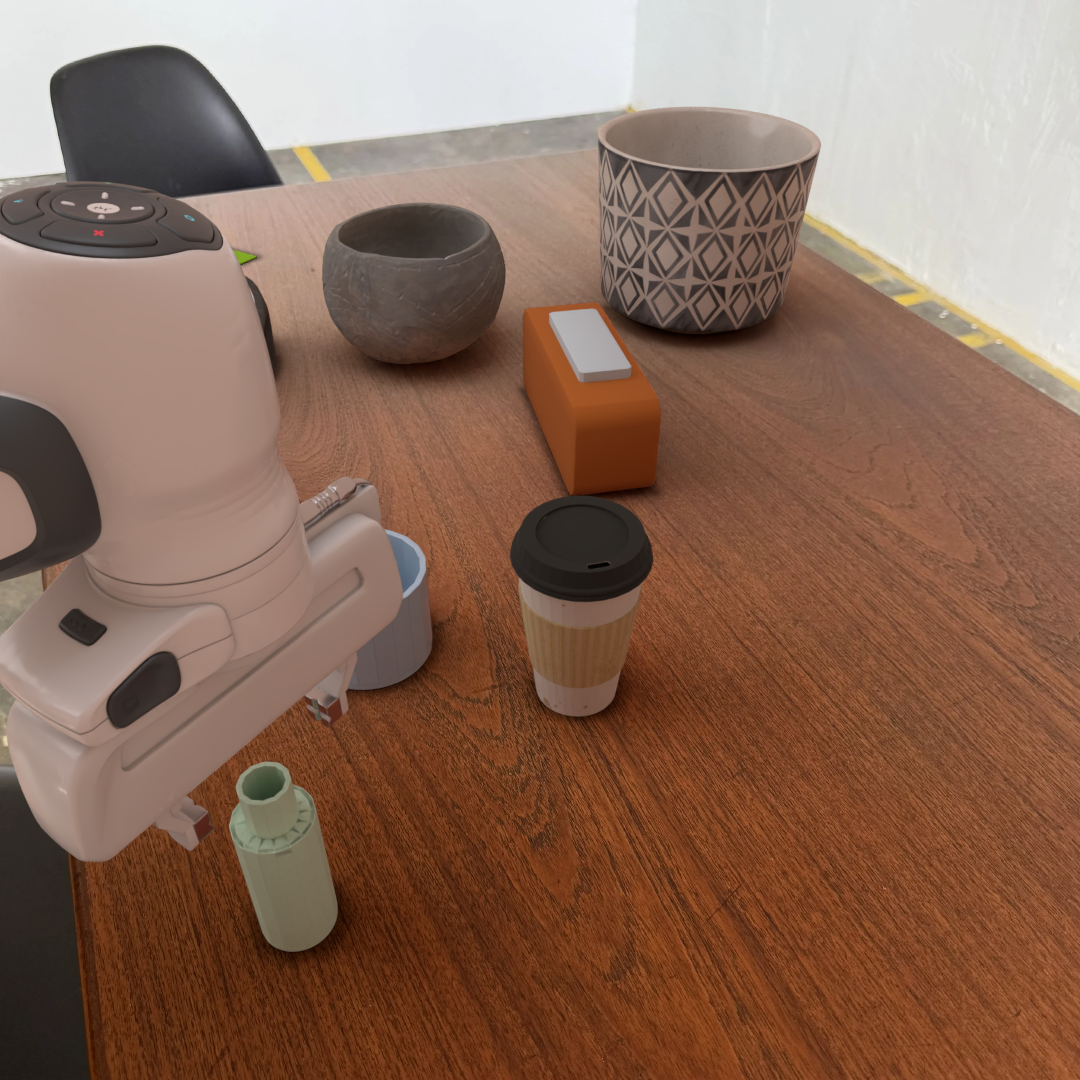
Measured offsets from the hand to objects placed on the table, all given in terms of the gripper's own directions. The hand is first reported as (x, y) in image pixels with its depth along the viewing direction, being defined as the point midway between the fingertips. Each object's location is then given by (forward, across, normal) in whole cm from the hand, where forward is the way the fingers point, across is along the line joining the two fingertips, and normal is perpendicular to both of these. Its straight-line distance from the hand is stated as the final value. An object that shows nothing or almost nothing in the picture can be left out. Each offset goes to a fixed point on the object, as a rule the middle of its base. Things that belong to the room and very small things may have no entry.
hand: (265, 771), depth 51 cm
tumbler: (+14, -20, -13) cm, 27 cm away
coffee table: (+14, -42, -54) cm, 70 cm away
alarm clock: (+14, -56, -16) cm, 60 cm away
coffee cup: (+14, -26, +3) cm, 29 cm away
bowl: (+14, -61, -43) cm, 76 cm away
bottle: (+14, 0, 0) cm, 14 cm away
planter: (+15, -91, -22) cm, 94 cm away
